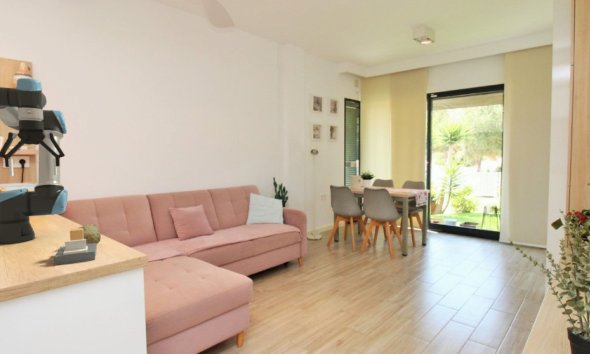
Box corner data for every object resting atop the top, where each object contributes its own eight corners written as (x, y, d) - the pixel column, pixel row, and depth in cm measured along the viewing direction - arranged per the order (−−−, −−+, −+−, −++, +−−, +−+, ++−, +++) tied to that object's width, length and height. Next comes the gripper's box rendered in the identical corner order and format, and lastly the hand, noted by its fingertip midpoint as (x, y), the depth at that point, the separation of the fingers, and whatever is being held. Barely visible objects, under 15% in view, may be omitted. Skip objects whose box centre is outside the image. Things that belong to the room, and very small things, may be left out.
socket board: (60, 254, 130) (60, 246, 130) (96, 250, 136) (96, 242, 136) (54, 264, 117) (54, 256, 117) (94, 259, 123) (94, 251, 123)
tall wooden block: (71, 257, 127) (69, 231, 126) (72, 254, 130) (71, 229, 130) (83, 255, 129) (82, 229, 128) (84, 253, 132) (83, 228, 132)
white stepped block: (65, 250, 125) (65, 239, 125) (87, 247, 128) (87, 237, 128) (63, 254, 119) (62, 243, 119) (86, 252, 122) (86, 241, 122)
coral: (109, 227, 147) (89, 222, 139) (100, 250, 144) (79, 246, 136) (94, 224, 151) (74, 219, 142) (85, 246, 148) (64, 242, 139)
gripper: (-15, 117, 120) (-12, 177, 121) (68, 120, 132) (71, 174, 133) (-9, 119, 126) (-6, 176, 128) (70, 122, 138) (73, 174, 140)
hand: (34, 175), depth 130 cm, fingers open, 13 cm apart
